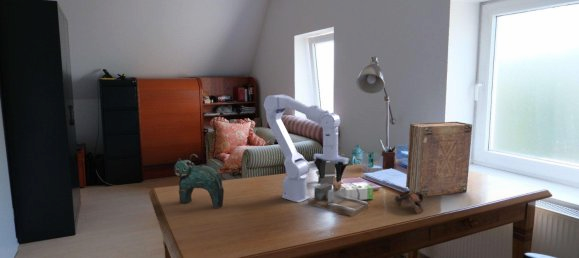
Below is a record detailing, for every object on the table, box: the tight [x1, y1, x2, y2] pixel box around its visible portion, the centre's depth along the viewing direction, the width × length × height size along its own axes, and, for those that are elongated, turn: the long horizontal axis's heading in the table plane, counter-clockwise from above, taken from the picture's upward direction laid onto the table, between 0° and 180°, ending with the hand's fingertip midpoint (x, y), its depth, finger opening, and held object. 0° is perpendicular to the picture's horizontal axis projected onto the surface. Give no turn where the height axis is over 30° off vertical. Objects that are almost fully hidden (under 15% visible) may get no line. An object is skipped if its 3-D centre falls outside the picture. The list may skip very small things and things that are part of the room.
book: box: [405, 121, 473, 198], centre depth 166 cm, size 25×9×30 cm, turn 109°
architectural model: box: [315, 161, 336, 186], centre depth 178 cm, size 19×17×11 cm
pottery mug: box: [394, 191, 424, 215], centre depth 146 cm, size 12×10×8 cm
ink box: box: [341, 181, 374, 201], centre depth 159 cm, size 9×5×12 cm
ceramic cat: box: [173, 153, 225, 209], centre depth 148 cm, size 20×6×20 cm, turn 70°
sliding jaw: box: [328, 176, 346, 204], centre depth 149 cm, size 3×8×9 cm, turn 140°
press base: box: [307, 183, 369, 217], centre depth 149 cm, size 20×12×6 cm, turn 50°
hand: (330, 179), depth 148 cm, fingers open, 7 cm apart
